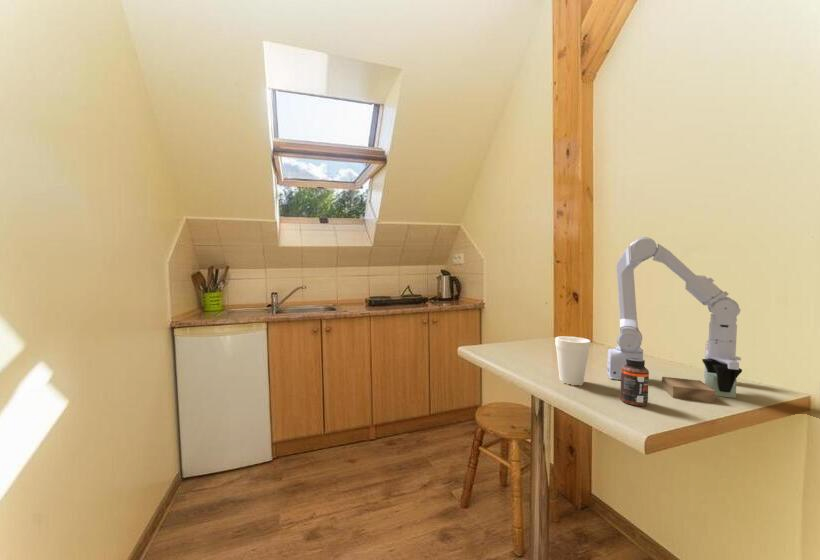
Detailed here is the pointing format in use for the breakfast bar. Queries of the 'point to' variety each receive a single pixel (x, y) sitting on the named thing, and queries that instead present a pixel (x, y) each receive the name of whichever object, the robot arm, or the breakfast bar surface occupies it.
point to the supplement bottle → (634, 382)
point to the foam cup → (572, 358)
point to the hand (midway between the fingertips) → (720, 388)
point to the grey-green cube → (713, 383)
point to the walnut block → (688, 389)
